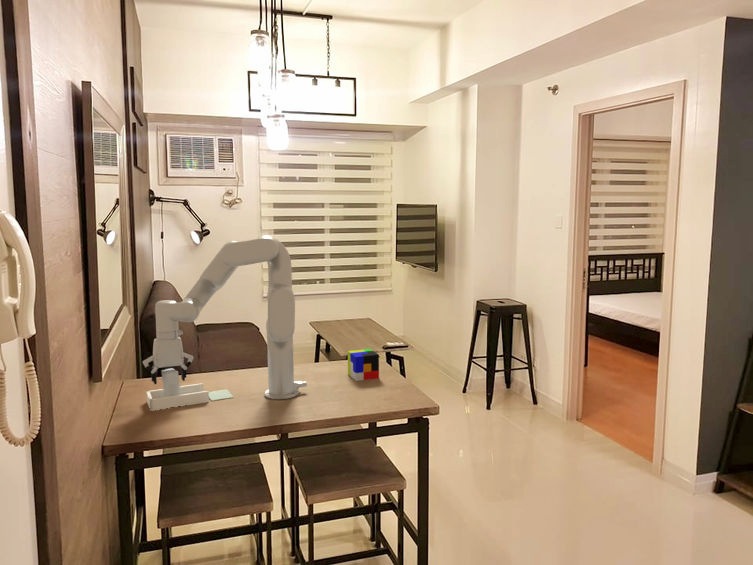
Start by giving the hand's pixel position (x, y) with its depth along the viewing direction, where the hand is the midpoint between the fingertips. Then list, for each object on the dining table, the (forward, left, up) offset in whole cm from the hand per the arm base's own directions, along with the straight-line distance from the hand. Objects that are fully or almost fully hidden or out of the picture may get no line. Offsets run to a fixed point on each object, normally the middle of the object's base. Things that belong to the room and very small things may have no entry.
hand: (169, 381), depth 213 cm
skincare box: (-1, 0, -8) cm, 8 cm away
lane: (-3, 0, -8) cm, 8 cm away
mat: (-18, 0, -8) cm, 19 cm away
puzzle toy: (-76, +4, -8) cm, 76 cm away
